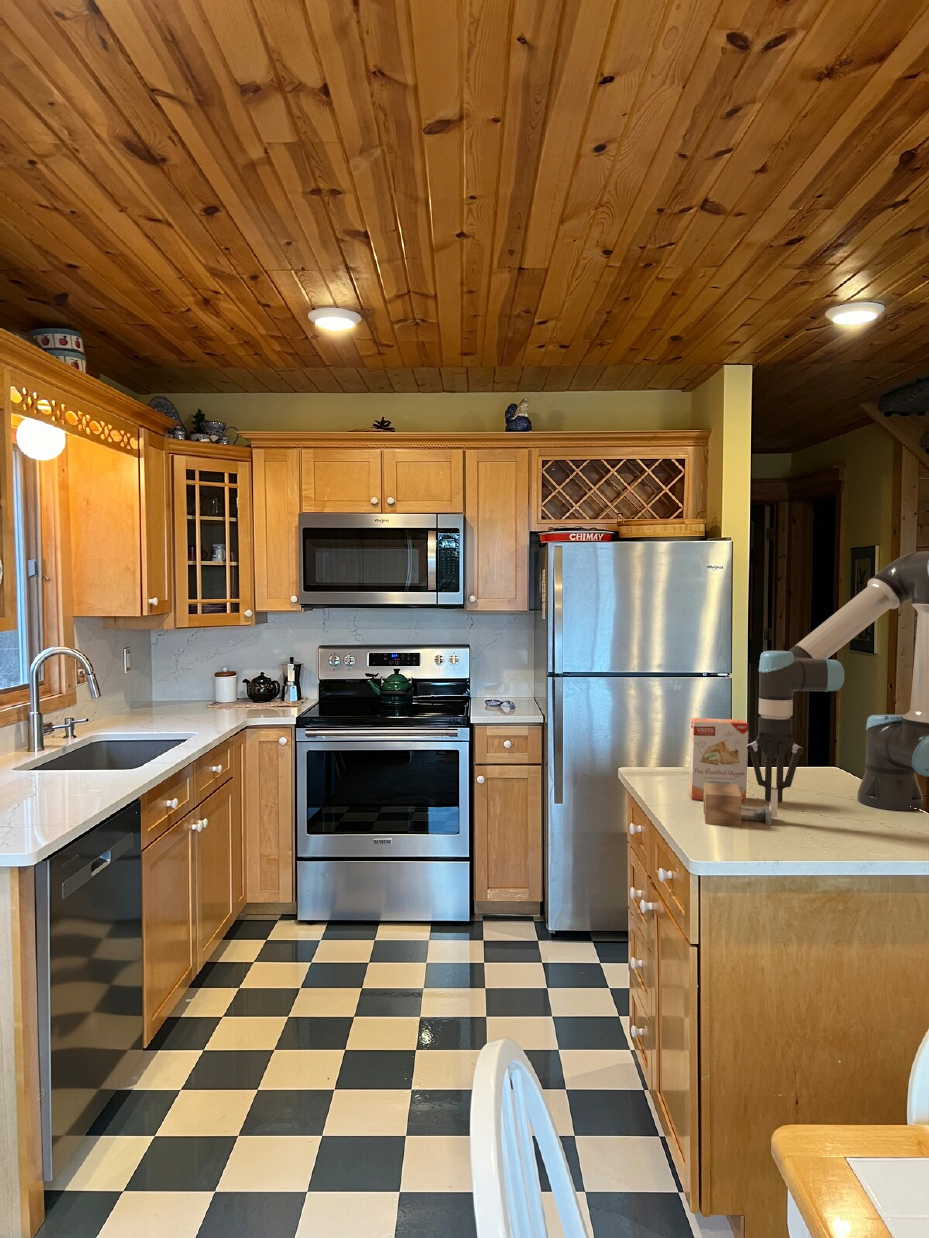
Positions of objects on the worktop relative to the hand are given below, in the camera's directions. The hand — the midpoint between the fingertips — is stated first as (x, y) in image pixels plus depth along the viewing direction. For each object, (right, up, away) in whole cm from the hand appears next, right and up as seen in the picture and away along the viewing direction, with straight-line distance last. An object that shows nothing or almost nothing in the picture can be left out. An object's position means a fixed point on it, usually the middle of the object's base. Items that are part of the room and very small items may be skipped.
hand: (773, 815), depth 198 cm
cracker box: (-7, -1, +21) cm, 22 cm away
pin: (-8, -1, +2) cm, 8 cm away
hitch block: (-11, -1, +3) cm, 12 cm away
